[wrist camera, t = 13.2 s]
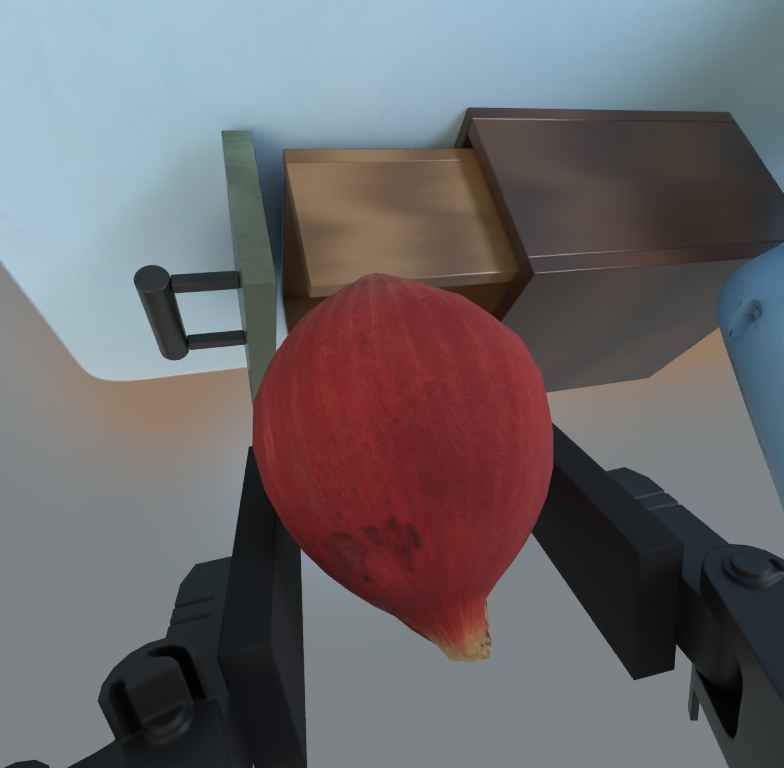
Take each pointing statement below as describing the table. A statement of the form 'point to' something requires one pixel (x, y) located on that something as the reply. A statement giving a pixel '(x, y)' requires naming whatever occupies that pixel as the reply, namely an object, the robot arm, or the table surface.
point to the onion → (407, 451)
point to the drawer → (340, 240)
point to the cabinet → (620, 231)
